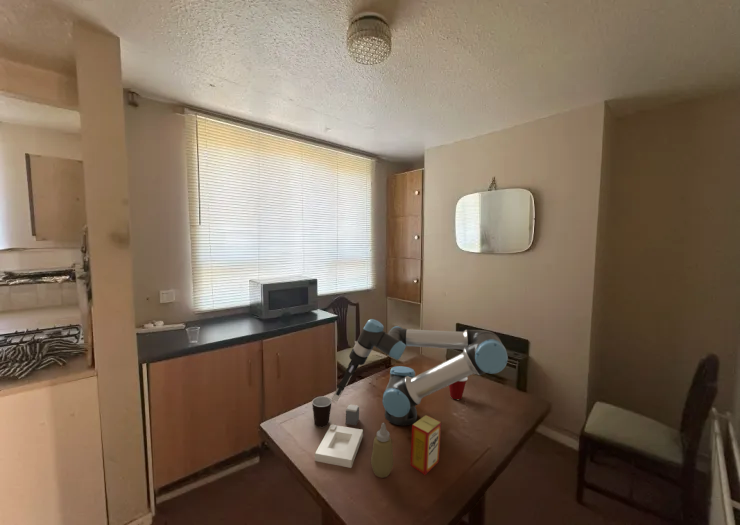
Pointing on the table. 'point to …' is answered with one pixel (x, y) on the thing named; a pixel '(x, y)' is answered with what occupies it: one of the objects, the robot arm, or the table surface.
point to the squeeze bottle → (382, 453)
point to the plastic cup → (457, 388)
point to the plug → (352, 414)
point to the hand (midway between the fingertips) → (339, 391)
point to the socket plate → (339, 446)
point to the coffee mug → (321, 411)
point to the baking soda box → (425, 444)
